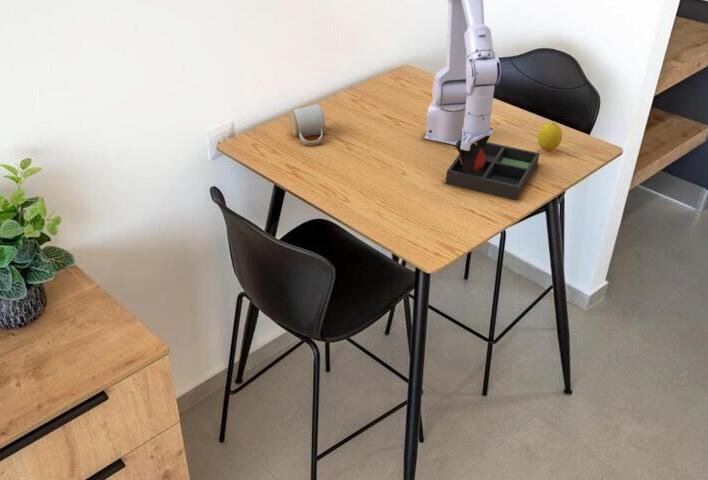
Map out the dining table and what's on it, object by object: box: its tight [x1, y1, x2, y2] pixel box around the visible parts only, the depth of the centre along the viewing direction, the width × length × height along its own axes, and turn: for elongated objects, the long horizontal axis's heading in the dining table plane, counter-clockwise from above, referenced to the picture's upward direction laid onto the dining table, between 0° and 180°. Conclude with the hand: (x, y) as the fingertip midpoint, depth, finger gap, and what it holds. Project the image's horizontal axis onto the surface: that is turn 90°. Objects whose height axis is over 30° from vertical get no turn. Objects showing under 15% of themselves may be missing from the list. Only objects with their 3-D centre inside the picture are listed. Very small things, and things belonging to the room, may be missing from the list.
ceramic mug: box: [289, 103, 326, 146], centre depth 199 cm, size 11×8×8 cm
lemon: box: [537, 121, 563, 153], centre depth 188 cm, size 6×6×8 cm
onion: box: [460, 143, 486, 173], centre depth 179 cm, size 6×6×8 cm
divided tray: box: [445, 141, 541, 201], centre depth 182 cm, size 17×17×4 cm
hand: (471, 163), depth 180 cm, fingers closed on onion, 6 cm apart
